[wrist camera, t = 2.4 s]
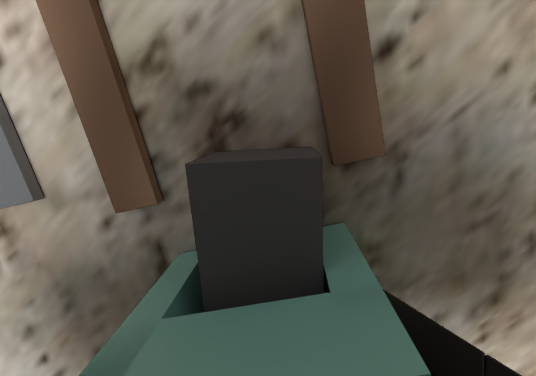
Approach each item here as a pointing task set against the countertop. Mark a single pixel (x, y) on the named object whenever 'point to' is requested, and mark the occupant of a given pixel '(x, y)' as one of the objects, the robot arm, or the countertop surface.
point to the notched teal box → (265, 328)
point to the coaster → (14, 167)
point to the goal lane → (124, 121)
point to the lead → (257, 225)
